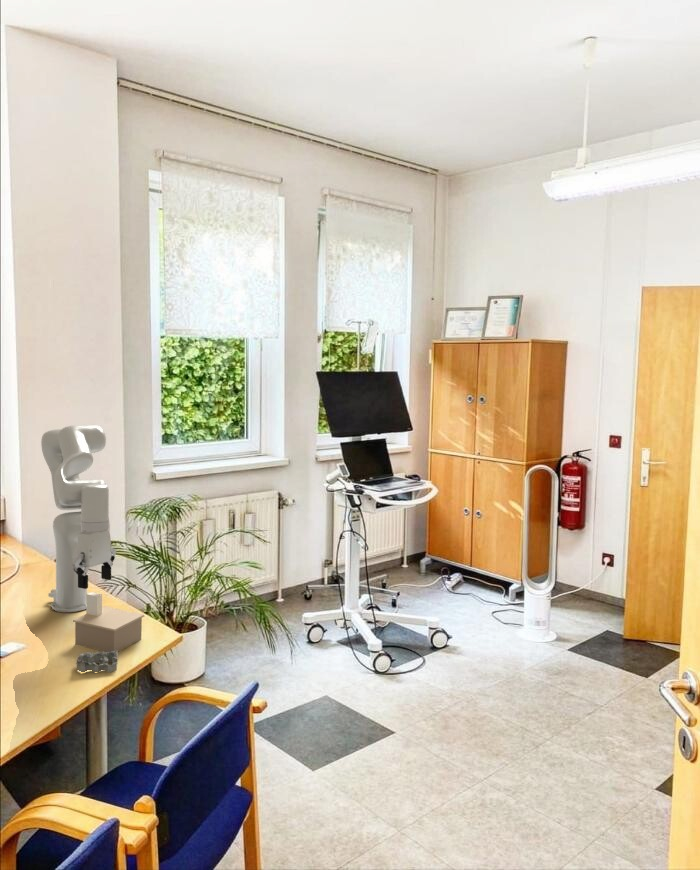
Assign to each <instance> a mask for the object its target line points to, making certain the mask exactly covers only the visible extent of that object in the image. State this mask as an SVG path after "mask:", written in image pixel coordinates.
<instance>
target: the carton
mask: <svg viewBox="0 0 700 870" xmlns="http://www.w3.org/2000/svg"><path fill="white" fill-rule="evenodd" d="M142 618H143V617H142ZM142 618H140V619H138V620H137V621H135V622H133V623H131V624H129V625H127V626H125V627H123V628H121V629H119V630H117V631H115V632H114V631H110V630H106V629H101V628H97V627H93V626H88V625H84V624H80V623H76V622H74V625H75V626H74V627H75V628H74V629H75V630H74V631H75V632H74V635H75V636H74V643H75V644H74V645H76V646H78V647H85V648H88V649H92V650H95V651H99V652H102V651H103V652H105V653H106V652H111V651H115V650H118V651H119V652H120V650H121V651H122V650H124V649H126V648H128V647H130V646H132V645H133V644H136V643H137V642H139V641H141V640H142V631H143V630H142V629H143V628H142V627H143V626H142V621H143V620H142Z"/></svg>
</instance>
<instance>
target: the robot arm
mask: <svg viewBox="0 0 700 870" xmlns="http://www.w3.org/2000/svg"><path fill="white" fill-rule="evenodd" d="M40 442H41V443H40V444H41V445H40V446H41V451H42V455H43V458H44V460H45V462H46V463H45V464H46V465H47V466H48V470H49V471H50V475H51V483H52V484H51V485H52V491H53V499H54V503H55V504H54V505H55V506H56V508H57V509H59V510H61V511H71V512H64V513H61V514H59V515H57V516H55V517H54V519H53V521H52V522H53V523H52V529H53V536H54V543H55V545H54V546H55V589H54V588H53V589H51V590H50V592H49V593H48V594H47V595H48V597H49V598H53V601H52V602H51V603H50V608H51V607H52V608H53V609H54V610H55V612H59V613H75V612H82V611H83V610H84V611H85V610H86V594H88V590H87V589H88V588H89V575H88V571H89V570H90V568H93V567H96V566H100V565H101V568H100V569H101V573H100V574H101V576H100V578H101V579H102V580H105V581H106V580H107V581H111V580H112V567H113V565H114V563H113V562H114V560H115V559H116V554H117V549H116V548H113V547H112V540H111V533H110V530H111V525H110V524H111V523H110V517H109V513H110V512H109V511H110V509H109V507H110V504H109V503H110V501H109V494H110V493H109V486H108V484H107V483H106V481H105V480H103V479H99V478H98V479H96V478H95V479H80V474H82V473H84V472H86V471H87V470H89V468H90V467H92V465H93V463H94V457H93V454H95V453H99V452H101V451H103V449H105V447H106V444H107V437H106V433H105V431H104V429H103V428H102V427H101V426H99V425H95V424H94V425H93V424H92V425H68V426H65V427H63V428H62V429H61V428H59V429H52V430H48V431H45V432H44V433H43V434H42V437H41V441H40ZM77 510H78V511H77ZM79 510H80V511H79ZM53 609H52V610H53ZM54 610H53V611H54Z"/></svg>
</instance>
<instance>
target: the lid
mask: <svg viewBox="0 0 700 870" xmlns="http://www.w3.org/2000/svg"><path fill="white" fill-rule="evenodd" d="M85 610H86V612H85V614H83V615H81V616H78V617H76V618H74V619H72V623H80V624H84V625H88V626H93V627H97V628H101V629H106V630H110V631H114V632H115V631H117V630H119V629H121V628H123V627H125V626H127V625H129V624H131V623H133V622H135V621H137V620H138V619H140V618H144V617H145V614H142V613H138V612H134V611H129V610H124V609H119V608H114V607H112V606H111V607H110V606H107V605H106V606H105V605H103V594H102V593H96V592H92V591H91V592H87V594H86V609H85Z"/></svg>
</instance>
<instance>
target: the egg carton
mask: <svg viewBox="0 0 700 870" xmlns="http://www.w3.org/2000/svg"><path fill="white" fill-rule="evenodd" d="M118 655H119V652H118V650H115V651H111V652H104V651H99V652H98V651H97V652H90V651H89V652H88V651H85V652H84V651H83V652H82V653H80V654H78V656H77V659H76V662H75V665H76V671H77V670H79V671H81V672H85V671H87V670H92V671H94V672H99V671H101V670H105V671H104V672H107V673H112V672H114V671H117V670H118V669H117V667H118ZM96 663H98V664H96ZM109 663H111V664H109ZM94 672H93V673H94ZM101 672H102V671H101ZM99 673H100V672H99Z"/></svg>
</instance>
